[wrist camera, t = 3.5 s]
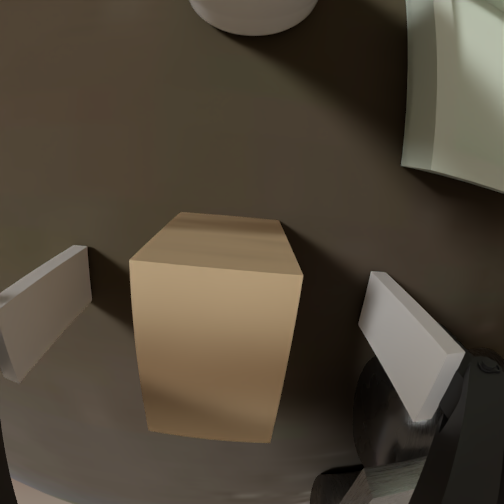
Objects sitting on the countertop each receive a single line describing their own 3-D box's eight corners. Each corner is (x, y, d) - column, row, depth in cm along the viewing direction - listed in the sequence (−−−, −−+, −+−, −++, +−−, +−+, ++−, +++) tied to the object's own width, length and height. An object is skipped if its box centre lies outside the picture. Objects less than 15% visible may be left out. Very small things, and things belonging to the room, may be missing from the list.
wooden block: (180, 211, 13) (129, 259, 7) (278, 220, 13) (303, 275, 7) (179, 336, 14) (148, 430, 9) (262, 344, 15) (270, 442, 9)
